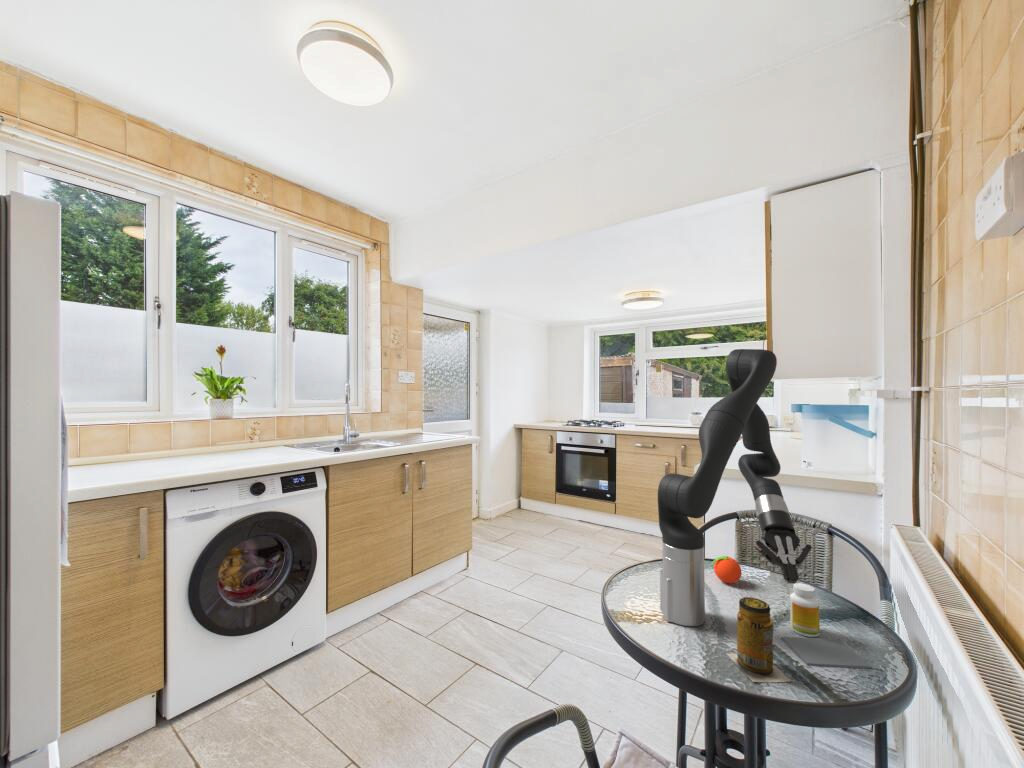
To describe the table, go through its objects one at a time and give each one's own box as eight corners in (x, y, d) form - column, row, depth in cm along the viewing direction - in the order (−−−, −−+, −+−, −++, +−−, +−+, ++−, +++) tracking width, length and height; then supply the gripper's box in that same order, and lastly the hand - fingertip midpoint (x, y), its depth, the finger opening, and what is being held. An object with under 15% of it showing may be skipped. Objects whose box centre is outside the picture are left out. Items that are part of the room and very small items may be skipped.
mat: (806, 665, 81) (806, 663, 81) (780, 638, 90) (780, 636, 90) (872, 668, 80) (872, 666, 80) (839, 641, 89) (839, 639, 89)
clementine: (716, 587, 114) (716, 561, 115) (706, 576, 121) (705, 551, 122) (746, 588, 114) (746, 561, 114) (734, 577, 121) (733, 552, 121)
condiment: (761, 653, 85) (760, 593, 85) (791, 682, 77) (790, 615, 77) (726, 654, 85) (725, 594, 85) (752, 683, 76) (751, 616, 77)
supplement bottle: (824, 639, 90) (824, 593, 90) (796, 636, 91) (796, 591, 91) (812, 625, 95) (811, 582, 96) (786, 623, 96) (785, 580, 97)
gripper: (748, 507, 111) (765, 572, 99) (805, 510, 108) (829, 578, 96) (743, 521, 116) (758, 585, 104) (797, 525, 113) (819, 591, 101)
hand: (792, 582), depth 100 cm, fingers closed
